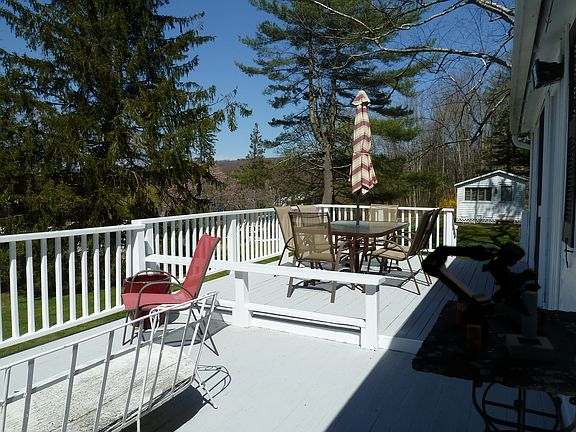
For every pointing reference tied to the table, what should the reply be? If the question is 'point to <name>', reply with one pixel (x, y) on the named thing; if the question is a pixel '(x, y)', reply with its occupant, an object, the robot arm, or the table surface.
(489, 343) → the table surface
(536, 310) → the long peg
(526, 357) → the socket block
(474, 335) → the short peg
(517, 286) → the robot arm
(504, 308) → the dark curved piece
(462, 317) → the soda can
